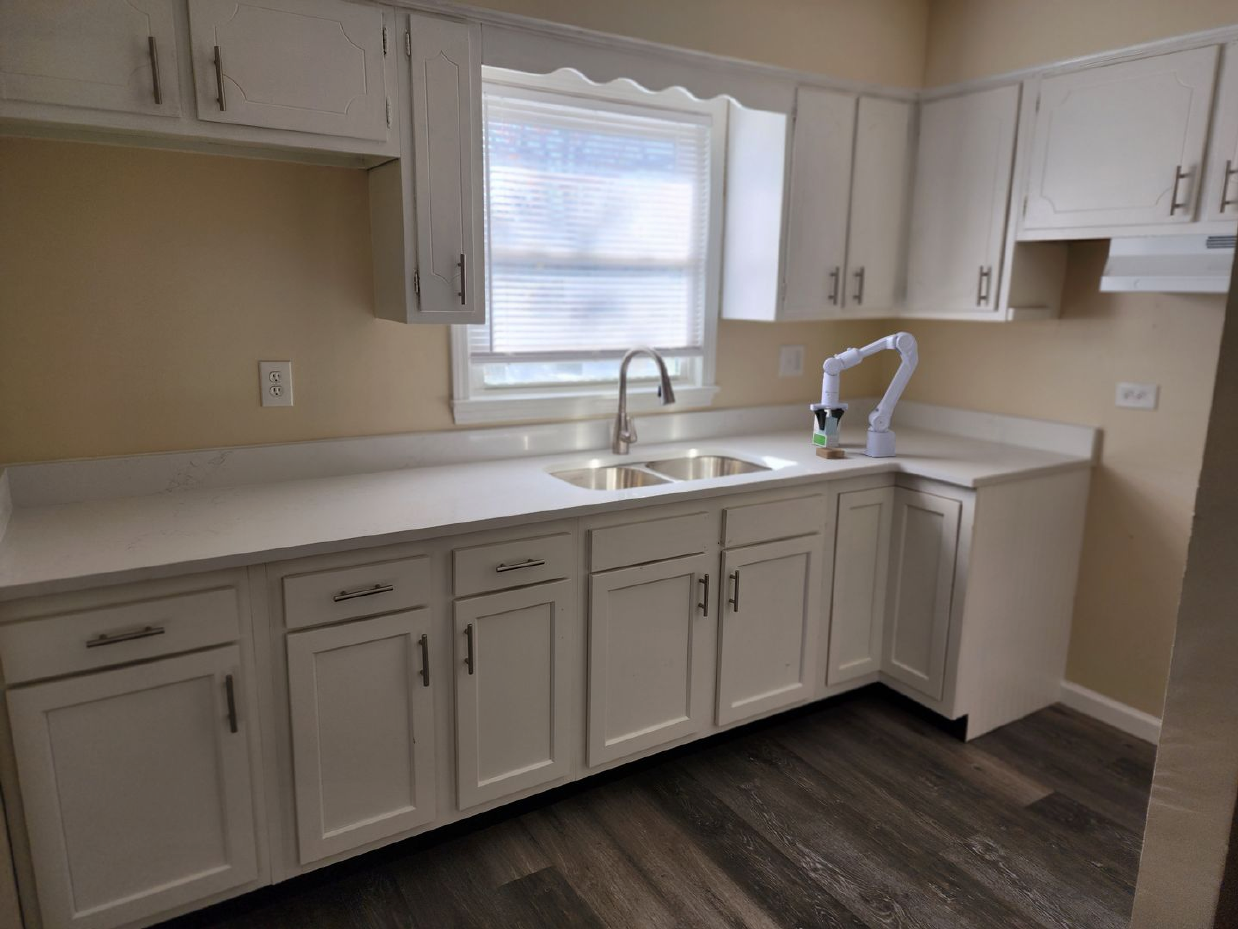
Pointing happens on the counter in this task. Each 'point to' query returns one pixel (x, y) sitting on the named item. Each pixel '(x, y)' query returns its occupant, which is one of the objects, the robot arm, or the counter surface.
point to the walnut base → (830, 453)
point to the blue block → (829, 426)
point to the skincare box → (826, 439)
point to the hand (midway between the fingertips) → (827, 429)
